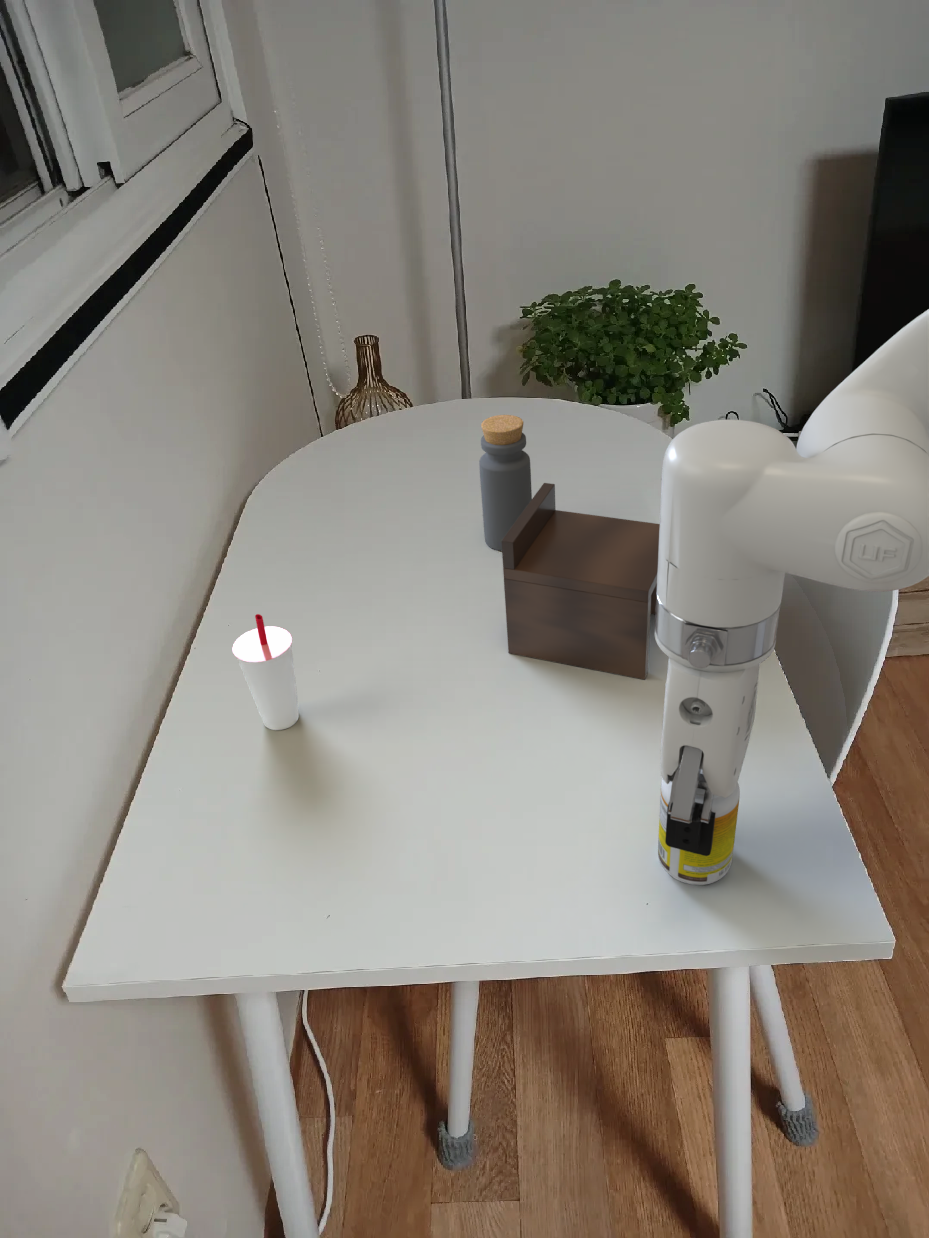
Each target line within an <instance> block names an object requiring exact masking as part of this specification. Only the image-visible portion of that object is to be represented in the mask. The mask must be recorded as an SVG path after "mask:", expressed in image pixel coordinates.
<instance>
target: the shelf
mask: <svg viewBox="0 0 929 1238" xmlns="http://www.w3.org/2000/svg"><path fill="white" fill-rule="evenodd" d="M659 528H660V523H655V522H647V521H641V520H634V519H625V518H618V517H610V516H602V515H594V514H587V513H581V512H573V511H567V510H559V509H556V484H555V483H550V482H543V483H542V485H541V486H540V488H538V490H537V491H536V493H535V494H534V496H532V500H531V501H530V503H529V504H528V505H527V507H526V508H525V509H524V511H523V512H522V513H521V515H520V516H519V518H518V519H517V520H516V522H515V523H514V524H513V526H512V527H511V528H510V530H509V531H508V532H507V534H506V535H505V537H504V538H503V539H502V541H501V543H502V551H501V557H502V572H503V573H502V574H503V588H504V605H505V619H506V635H507V637H506V638H507V651H508V654H512V655H516V656H520V657H521V656H522V657H527V658H530V659H531V658H532V659H537V660H543V661H547V662H553V663H558V664H561V665H562V664H563V665H568V666H573V667H577V668H584V669H588V670H593V671H598V672H603V673H607V674H614V675H618V676H623V677H629V678H634V679H639V680H646V678H647V676H648V673H649V657H650V655H649V653H650V630H651V614H652V615H655V613H656V592H657V573H658V551H659Z"/></svg>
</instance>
